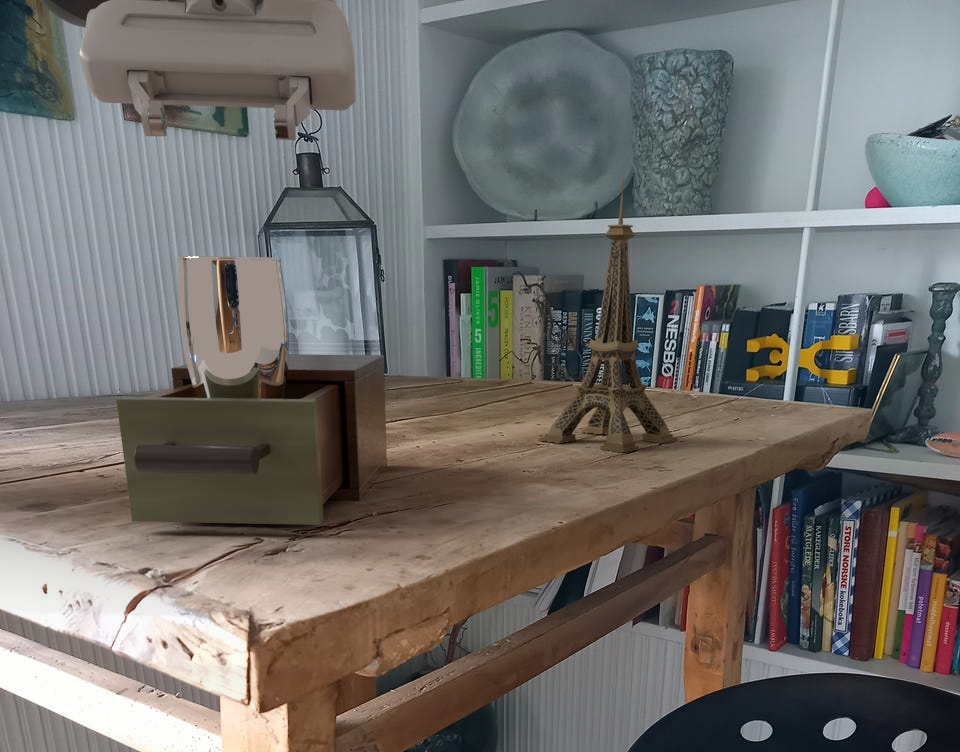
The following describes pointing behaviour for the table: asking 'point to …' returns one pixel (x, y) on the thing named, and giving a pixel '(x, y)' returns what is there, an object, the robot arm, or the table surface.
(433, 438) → the table surface
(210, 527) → the table surface
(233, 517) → the drawer
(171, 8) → the robot arm
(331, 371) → the cabinet
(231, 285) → the beer glass
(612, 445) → the eiffel tower
